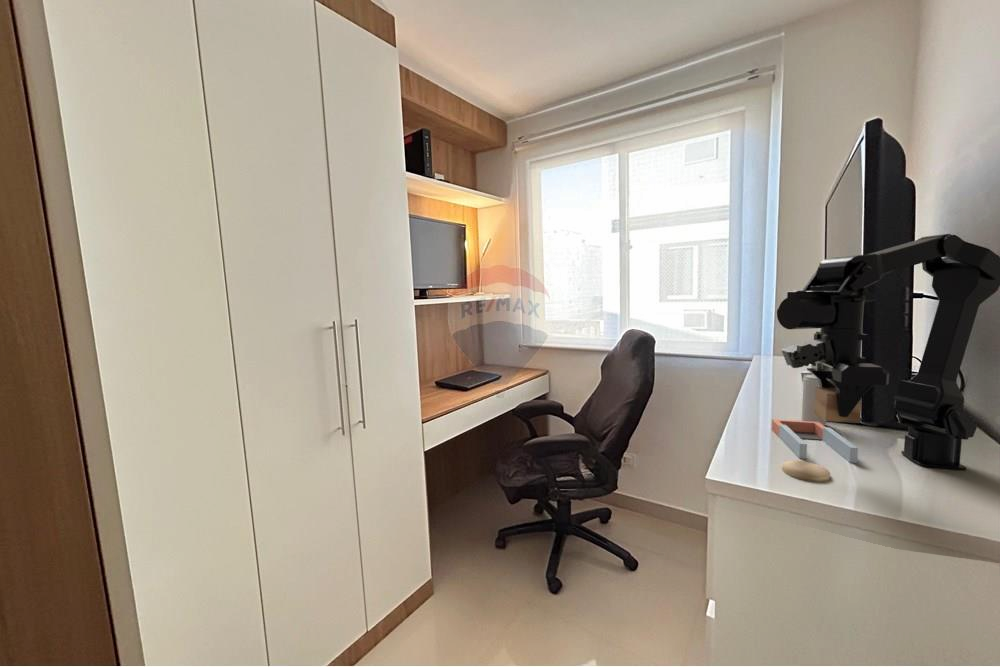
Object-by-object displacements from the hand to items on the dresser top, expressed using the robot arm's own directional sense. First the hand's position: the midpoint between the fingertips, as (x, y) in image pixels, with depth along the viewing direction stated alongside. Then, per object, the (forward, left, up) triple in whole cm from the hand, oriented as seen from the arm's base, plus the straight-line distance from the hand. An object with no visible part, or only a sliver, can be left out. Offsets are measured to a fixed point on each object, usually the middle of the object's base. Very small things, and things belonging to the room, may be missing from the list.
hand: (836, 412), depth 73 cm
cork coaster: (+5, +2, -11) cm, 12 cm away
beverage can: (-7, -29, -11) cm, 32 cm away
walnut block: (0, 0, -1) cm, 1 cm away
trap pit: (-1, -19, -11) cm, 22 cm away
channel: (-1, -11, -11) cm, 16 cm away
